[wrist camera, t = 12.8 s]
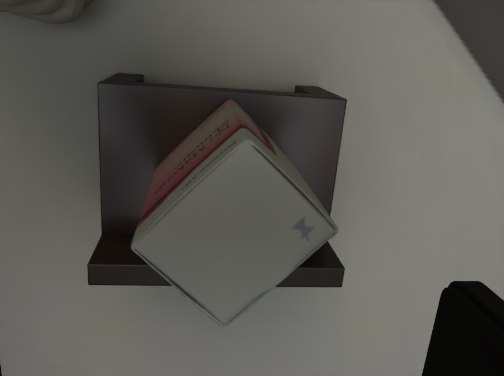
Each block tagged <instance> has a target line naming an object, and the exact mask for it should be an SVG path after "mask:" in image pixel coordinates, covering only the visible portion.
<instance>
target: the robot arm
mask: <svg viewBox="0 0 504 376" xmlns="http://www.w3.org/2000/svg"><path fill="white" fill-rule="evenodd" d="M0 376H2V374H1V366H0ZM422 376H504V301H503V300H502V299H501V298H500V297H499V296H497V295H496V294H495V293H494V292H493V291H492V290H490V289H489V288H488V287H487V286H486V285H484V284H483V283H481V282H480V281H454V282H451V283H450V285H449V286H448V288H445V289H444V290H443V291H442V293H441V297H440V301H439V305H438V309H437V314H436V318H435V322H434V326H433V331H432V335H431V339H430V343H429V347H428V352H427V356H426V360H425V364H424V369H423V373H422Z"/></svg>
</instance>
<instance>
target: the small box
mask: <svg viewBox="0 0 504 376" xmlns="http://www.w3.org/2000/svg"><path fill="white" fill-rule="evenodd" d="M337 233H338V228H337V226H336V225H335V223H334V222H333V220H332V219H331V217H330V216H329V214H328V213H327V211H326V210H325V209H324V207H323V206H322V204H321V203H320V201H319V200H318V198H317V197H316V196H315V194H314V193H313V191H312V190H311V188H310V187H309V186H308V184H307V183H306V182H305V180H304V179H303V177H302V176H301V174H300V173H299V172H298V170H297V169H296V167H295V166H294V165H293V163H292V162H291V161H290V160H289V158H288V157H287V156H286V155H285V154H284V153H283V152H282V150H281V149H280V148H279V147H278V146H277V145H276V144H275V143H274V141H273V140H272V139H271V138H270V137H269V136H268V135H267V134H266V133H265V132H264V131H263V130H262V128H261V127H259V126H258V124H257V123H256V122H255V121H254V120H253V119H252V118H251V117H250V116H249V115H248V114H247V113H246V112H245V111H244V110H243V109H242V108H241V107H240V106H239V105H238V104H237V103H236V102H235V101H234V100H232V99H228V100H227V101H226V102H224V103H223V104H222V105H221V106H220V107H219V108H218V109H217V110H215V111H214V112H213V113H212V114H211V115H210V116H209V117H208V118H207V119H205V120H204V121H203V122H202V123H201V124H200V125H199V126H198V127H197V128H196V129H194V130H193V131H192V132H191V133H190V134H189V135H188V136H187V137H186V138H185V139H184V140H183V141H182V142H181V143H180V144H179V145H178V146H177V147H176V148H175V149H174V150H173V151H172V152H171V153H170V154H169V155H168V156H167V157H166V158H165V160H163V161H162V163H161V164H160V165H159V166H158V167H157V168H156V169H155V170H154V172H153V175H152V179H151V182H150V185H149V188H148V191H147V195H146V198H145V201H144V205H143V208H142V211H141V214H140V218H139V221H138V225H137V228H136V231H135V234H134V237H133V240H132V243H131V249H132V250H133V251H134V252H135V253H136V254H137V255H139V256H140V257H141V258H142V259H143V260H144V261H145V262H146V263H147V264H148V265H149V266H151V267H152V268H153V269H154V270H155V271H157V272H158V273H159V274H160V275H161V276H162V277H163V278H164V279H165V280H167V281H168V282H169V283H170V284H171V285H172V286H174V287H175V288H176V289H177V290H178V291H179V292H180V293H181V294H183V295H184V296H185V297H186V298H187V299H188V300H190V301H191V302H192V303H193V304H194V305H195V306H197V307H198V308H199V309H200V310H201V311H203V312H204V313H205V314H206V315H208V316H209V317H210V318H211V319H212V320H214V321H215V322H216V323H217V324H218V325H220V326H227V325H229V324H230V323H232V322H233V321H234V320H235V319H236V318H238V317H239V316H240V315H241V314H242V313H244V312H245V311H246V310H247V309H248V308H250V307H251V306H252V305H253V304H255V303H256V302H257V301H258V300H260V299H261V298H262V297H263V296H264V295H265V294H266V293H268V292H269V291H270V290H271V289H273V288H274V287H275V286H277V285H278V284H279V283H280V282H282V281H283V280H284V279H285V278H286V277H287V276H288V275H290V274H291V273H292V272H293V271H294V270H295V269H296V268H297V267H298V266H299V265H301V264H302V263H303V262H304V261H305V260H306V259H307V258H309V257H310V256H311V255H312V254H313V253H314V252H315V251H317V250H318V249H319V248H320V247H321V246H322V245H323V244H325V243H326V242H327V241H328V240H329V239H330V238H332V237H333V236H335V235H336V234H337Z"/></svg>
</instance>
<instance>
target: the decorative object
mask: <svg viewBox="0 0 504 376" xmlns="http://www.w3.org/2000/svg"><path fill="white" fill-rule="evenodd" d="M90 1H91V0H0V11H4V12H10V13H13V14H16V15H19V16H22V17H26V18H30V19H34V20H38V21H43V22H50V23H65V22H69V21H72V20H74V19H76V18H77V17H78V16H79V15H80V14H81V12H82V10H83V7H84V5H85V4H87V3H89V2H90Z"/></svg>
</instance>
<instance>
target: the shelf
mask: <svg viewBox="0 0 504 376" xmlns="http://www.w3.org/2000/svg"><path fill="white" fill-rule="evenodd" d="M97 87H98V121H99V155H100V190H101V224H102V235H101V237H100V239H99V241H98V244H97V246H96V248H95V250H94V252H93V254H92V256H91V258H90V261H89V263H88V265H87V267H88V284H89V285H139V286H172V285H171V284H170V283H169V282H168V281H167V280H165V279H164V278H163V277H162V276H161V275H160V274H159V273H158V272H157V271H155V270H154V269H153V268H152V267H151V266H149V265H148V264H147V263H146V262H145V261H144V260H143V259H142V258H141V257H140V256H139V255H137V254H136V253H135V252H134V251H133V250H132V249H131V243H132V240H133V237H134V234H135V231H136V228H137V225H138V221H139V218H140V214H141V211H142V208H143V205H144V201H145V198H146V195H147V191H148V188H149V185H150V182H151V179H152V175H153V172H154V170H155V169H156V168H157V167H158V166H159V165H160V164H161V163H162V161H163V160H165V158H166V157H167V156H168V155H169V154H170V153H171V152H172V151H173V150H174V149H175V148H176V147H177V146H178V145H179V144H180V143H181V142H182V141H183V140H184V139H185V138H186V137H187V136H188V135H189V134H190V133H191V132H192V131H193V130H194V129H196V128H197V127H198V126H199V125H200V124H201V123H202V122H203V121H204V120H205V119H207V118H208V117H209V116H210V115H211V114H212V113H213V112H214V111H215V110H217V109H218V108H219V107H220V106H221V105H222V104H223V103H224V102H226V101H227V100H228V99H232V100H234V101H235V102H236V103H237V104H238V105H239V106H240V107H241V108H242V109H243V110H244V111H245V112H246V113H247V114H248V115H249V116H250V117H251V118H252V119H253V120H254V121H255V122H256V123H257V124H258V126H259V127H261V128H262V130H263V131H264V132H265V133H266V134H267V135H268V136H269V137H270V138H271V139H272V140H273V141H274V143H275V144H276V145H277V146H278V147H279V148H280V149H281V150H282V152H283V153H284V154H285V155H286V156H287V157H288V158H289V160H290V161H291V162H292V163H293V165H294V166H295V167H296V169H297V170H298V172H299V173H300V174H301V176H302V177H303V179H304V180H305V182H306V183H307V184H308V186H309V187H310V188H311V190H312V191H313V193H314V194H315V196H316V197H317V198H318V200H319V201H320V203H321V204H322V206H323V207H324V209H325V210H326V211H327V213H328V214H329V216H330V213H331V206H332V199H333V192H334V185H335V178H336V171H337V165H338V158H339V151H340V144H341V137H342V130H343V123H344V116H345V109H346V102H347V99H345V98H343V97H340V96H338V95H336V94H334V93H331V92H329V91H327V90H325V89H322V88H320V87H315V86H301V85H296V86H295V92H294V93H290V92H275V91H260V90H245V89H231V88H216V87H201V86H186V85H171V84H157V83H144V75H142V74H129V73H116V74H114V75H113V76H111V77H109V78H107V79H105V80H102V81H100V82H98V84H97ZM344 270H345V268H344V266H343V265H342V263H341V262H340V260H339V258H338V257H337V255H336V254H335V252H334V250H333V249H332V247H331V246H330V244H329V242H328V241H327V242H326V243H325V244H323V245H322V246H321V247H320V248H319V249H318V250H317V251H315V252H314V253H313V254H312V255H311V256H310V257H309V258H307V259H306V260H305V261H304V262H303V263H302V264H301V265H299V266H298V267H297V268H296V269H295V270H294V271H293V272H292V273H291V274H290V275H288V276H287V277H286V278H285V279H284V280H283V281H282V282H280V283H279V284H278V285H277V286H275V287H342V282H343V276H344Z"/></svg>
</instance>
